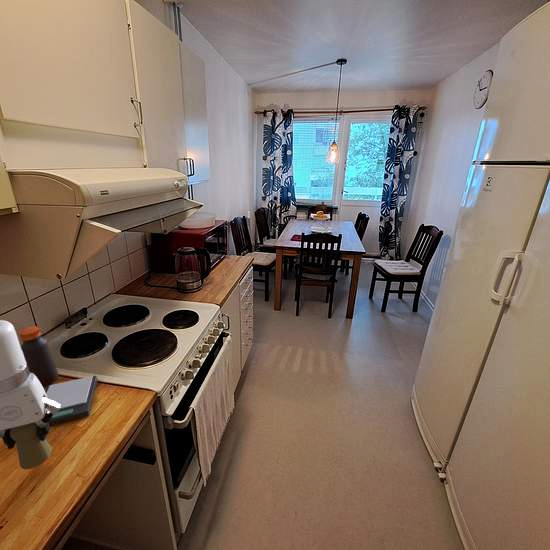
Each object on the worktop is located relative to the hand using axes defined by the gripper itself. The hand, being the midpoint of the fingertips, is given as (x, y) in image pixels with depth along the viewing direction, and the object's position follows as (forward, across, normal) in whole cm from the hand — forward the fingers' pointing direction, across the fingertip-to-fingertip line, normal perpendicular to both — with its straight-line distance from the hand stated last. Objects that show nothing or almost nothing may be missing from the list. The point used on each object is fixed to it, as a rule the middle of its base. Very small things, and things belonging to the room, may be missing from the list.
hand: (29, 439), depth 66 cm
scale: (+11, +1, +22) cm, 24 cm away
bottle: (+11, -8, +36) cm, 38 cm away
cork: (+6, 0, 0) cm, 6 cm away
